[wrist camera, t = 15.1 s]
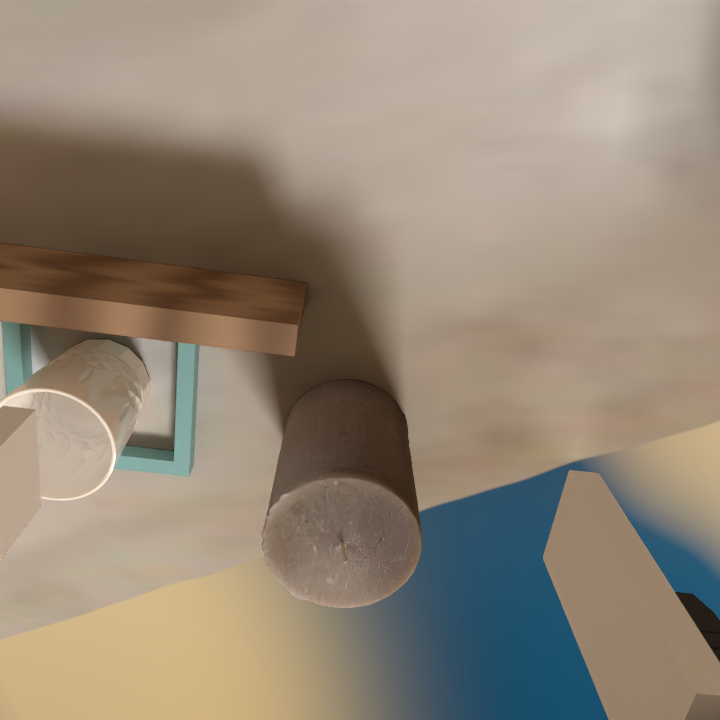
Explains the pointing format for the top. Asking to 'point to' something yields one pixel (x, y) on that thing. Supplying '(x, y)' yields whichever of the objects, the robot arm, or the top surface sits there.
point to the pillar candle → (343, 498)
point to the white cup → (83, 414)
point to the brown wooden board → (150, 300)
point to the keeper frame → (131, 457)
